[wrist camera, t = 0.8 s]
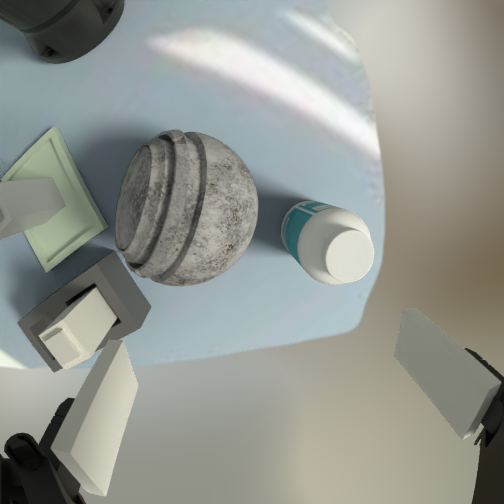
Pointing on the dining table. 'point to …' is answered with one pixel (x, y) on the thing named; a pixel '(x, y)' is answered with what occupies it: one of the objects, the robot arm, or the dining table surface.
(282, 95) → the dining table surface
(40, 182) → the plug
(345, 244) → the pill bottle
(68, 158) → the tray
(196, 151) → the decorative orb
